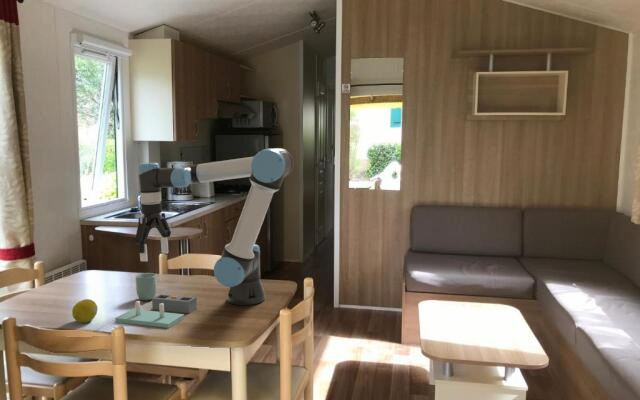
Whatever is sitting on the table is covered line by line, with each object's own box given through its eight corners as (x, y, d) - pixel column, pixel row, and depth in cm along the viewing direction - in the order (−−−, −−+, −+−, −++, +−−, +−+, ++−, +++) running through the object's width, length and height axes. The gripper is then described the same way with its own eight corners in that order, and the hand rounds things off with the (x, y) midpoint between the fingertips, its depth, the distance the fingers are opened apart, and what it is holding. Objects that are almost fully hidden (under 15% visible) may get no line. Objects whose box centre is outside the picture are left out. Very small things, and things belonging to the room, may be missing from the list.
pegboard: (184, 318, 190) (183, 301, 189) (169, 328, 181) (168, 310, 180) (133, 312, 196) (132, 296, 196) (115, 322, 187) (114, 304, 186)
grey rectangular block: (196, 308, 201) (196, 295, 200) (189, 313, 195) (188, 300, 195) (160, 305, 205) (160, 292, 205) (152, 309, 200) (152, 296, 199)
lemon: (85, 327, 182) (83, 305, 181) (66, 325, 184) (64, 303, 183) (105, 317, 192) (104, 296, 191) (87, 315, 194) (86, 294, 193)
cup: (150, 302, 208) (149, 278, 207) (133, 301, 210) (131, 277, 209) (160, 296, 216) (159, 273, 215) (143, 295, 218) (142, 272, 216)
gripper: (161, 199, 212) (165, 249, 215) (121, 207, 189) (125, 264, 191) (177, 199, 210) (180, 250, 213) (139, 207, 186) (143, 265, 189)
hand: (154, 257), depth 202 cm, fingers open, 13 cm apart
